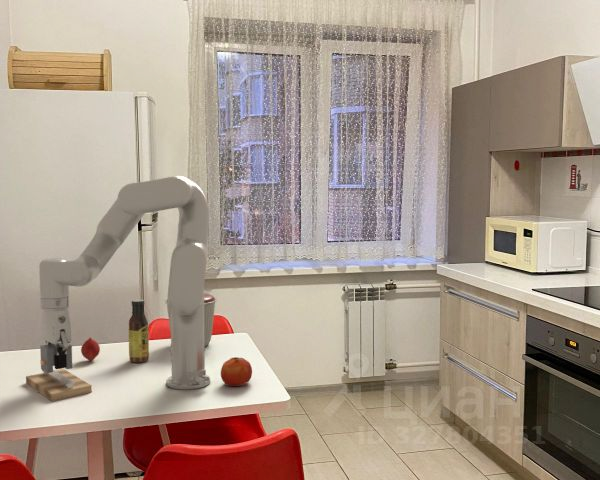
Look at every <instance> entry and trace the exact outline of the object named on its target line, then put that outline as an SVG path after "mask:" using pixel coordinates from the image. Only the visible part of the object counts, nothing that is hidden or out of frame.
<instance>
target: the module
mask: <svg viewBox="0 0 600 480" xmlns="http://www.w3.org/2000/svg"><path fill="white" fill-rule="evenodd" d="M60 343H61V341H60V342H58V344H60ZM60 347H61V346H58V350H59V348H60ZM72 347H73V345H72V344H70V343H68V348H67V354H66V361H67V367H66V368H65V370H71V369H73V348H72ZM39 348H40V349H39V350H40V370H41V371H42V370H43V371H45V372H47V373H51V372H53V370H54V367H55V364H54V355H56V354H55V346H54V344H48V345H46V344H43V345H40V347H39ZM43 371H42V372H43Z"/></svg>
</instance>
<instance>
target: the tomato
mask: <svg viewBox="0 0 600 480" xmlns="http://www.w3.org/2000/svg"><path fill="white" fill-rule="evenodd" d="M252 376H253V369H252V365H251V363H250V362H249V361H248V360H247V359H245V358H243V357H231V358H229V359H228V360H226V361H225V362H223V364H222V365H221V369H220V377H221V380H222V382H224V384H225V385H226V386H230V387H240V386H244V385H245V384H247V383H249V382H250V380H251V378H252Z"/></svg>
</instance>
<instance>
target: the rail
mask: <svg viewBox="0 0 600 480" xmlns="http://www.w3.org/2000/svg"><path fill="white" fill-rule="evenodd" d="M55 370H56V369H53V372H51V373H47V372H45V371H43V370H42V369H41V372H42V373H43V374H44V375H46V376H47V377H49V378H51V379H52V380H54V381H55V382H57V383H59V384H60V385H62V386H63V387H65V388H66V389H71V388H73V384H75V382H73V381H71V380H70V379H68V378H66V377H65V376H63V375H62V374H60V373H58V372H57V371H55Z"/></svg>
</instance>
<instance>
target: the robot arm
mask: <svg viewBox="0 0 600 480" xmlns="http://www.w3.org/2000/svg"><path fill="white" fill-rule="evenodd" d="M209 207H210V206H209V204H208V199H207V197H206V195H205V193H204V192H203V190H202V189H201V188H200V186H199V185H197V183H195V182H194V181H192V180H190V178H187V177H186V176H183V175H173V176H167V177H163V178H162V177H161V178H158V179H151V180H146V181H139V182H130V183H127V184H125V185H124V186H122V187H121V188H120V190H119V192H118V193H117V199H115V201H114V203H113V204H112V205H111V207H110V208H109V209H108V210H107V212H106V213H105V215H103V216H102V218H101V219H100V220H99V222H98V224H97V227H96V229H95V230H96V231H95V233H94V235H93V237H92V239H91V240H90V242H89V243H88V245H87V246H86V247H85V248H84V250H83V251H82V252H81V254H80V255H79V256H78V258H76V259H74V260H69V261H68V260H66V259H64V258H46V259H42V260H41V261H40V262H39V265H38V267H39V268H38V269H39V271H38V272H39V293H40V294H39V296H40V300H39V303H40V310H42V322H41V323H42V324H41V326H42V327H41V329H42V330H41V331H42V338H43V340H45V345H48V344H54V346H55V354H56V355H54V364H55V366H54V370H60V369H66V367H67V361H66V354H67V348H68V344H70V343H71V342H72V340H73V339H72V328H71V327H72V326H71V317H70V310H69V308H70V297H69V296H70V291H69V287H85V286H87V285H89V284H90V283H91V282H92V281H94V280H95V279H96V278H97V277H98V275H100V273H101V272H102V271H103V269H104V268H105V267H106V265H107V264H108V263H109V261H110V260H111V259H112V258H113V256H114V255H115V253H116V252H117V251H118V249H119V248H120V247H121V246H122V245H123V243H124V242H125V241H126V240H127V238H128V237H129V235H130V234H131V233H132V231H133V230H134V228H135V227H136V226H137V225H138V224H139V222H140V221H141V219H142V218H143V217H144V216H145V214H147V213H148V214H149V213H150V214H151V213H155V212H159V211H164V210H165V211H166V210H171V209H178V223H177V238H176V243H175V244H176V245H175V246H174V249H173V251H172V252H171V257H170V259H171V260H170V265H169V267H170V268H169V276H168V277H169V278H168V286H167V298H168V303H169V306H170V307H171V332H170V347H171V348H170V349H171V350H170V351H171V352H170V353H171V354H170V355H171V356H170V357H171V376H169V377H167V379H166V380H165V381H166V385H167V386H168V388H171V389H175V390H184V391H185V390H186V391H187V390H195V389H201V388H203V387H204V388H205V387H206V386H207V385H209V384H210V383H211V377H210V375H207V373H206V372H207V370H206V363H205V358H206V357H205V355H206V354H205V346H204V293H205V281H206V279H205V278H206V268H207V261H208V237H209V224H210V223H209V222H210V208H209ZM167 298H166V299H167ZM60 342H61V343H60ZM58 343H60V344H58ZM58 346H61V347H60V348H59V350H58Z"/></svg>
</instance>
